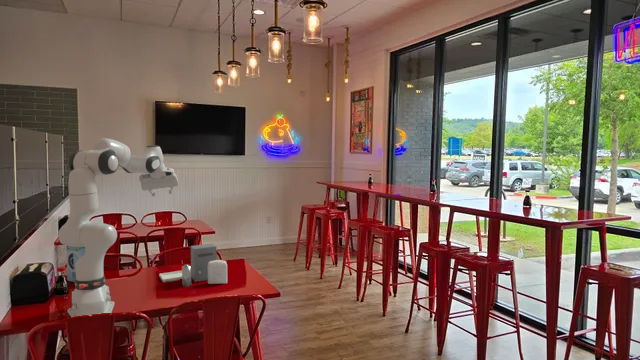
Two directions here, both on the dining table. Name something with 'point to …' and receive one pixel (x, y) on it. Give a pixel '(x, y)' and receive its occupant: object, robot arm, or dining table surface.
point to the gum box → (73, 260)
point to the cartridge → (186, 275)
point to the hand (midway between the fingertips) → (162, 194)
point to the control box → (201, 260)
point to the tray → (171, 276)
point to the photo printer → (217, 272)
